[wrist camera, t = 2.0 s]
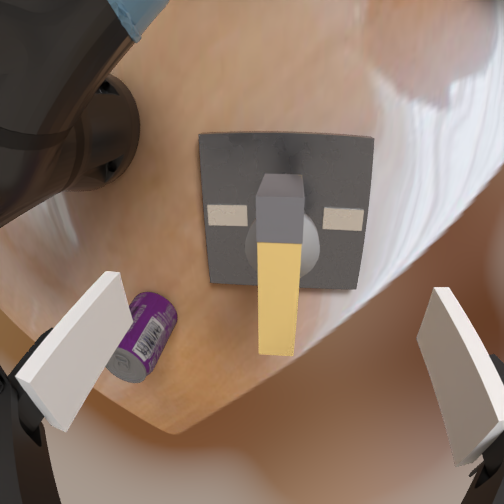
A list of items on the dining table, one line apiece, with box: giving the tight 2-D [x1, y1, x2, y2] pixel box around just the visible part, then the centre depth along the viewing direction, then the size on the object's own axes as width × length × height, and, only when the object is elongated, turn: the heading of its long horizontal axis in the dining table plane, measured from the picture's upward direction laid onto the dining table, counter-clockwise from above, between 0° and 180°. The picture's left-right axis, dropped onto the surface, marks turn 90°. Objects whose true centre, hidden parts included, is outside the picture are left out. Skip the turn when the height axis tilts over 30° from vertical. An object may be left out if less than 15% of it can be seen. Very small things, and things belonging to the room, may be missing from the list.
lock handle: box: [245, 174, 320, 356], centre depth 25 cm, size 6×13×8 cm, turn 1°
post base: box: [199, 131, 374, 289], centre depth 32 cm, size 18×18×7 cm
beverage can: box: [105, 292, 177, 383], centre depth 39 cm, size 7×7×12 cm
